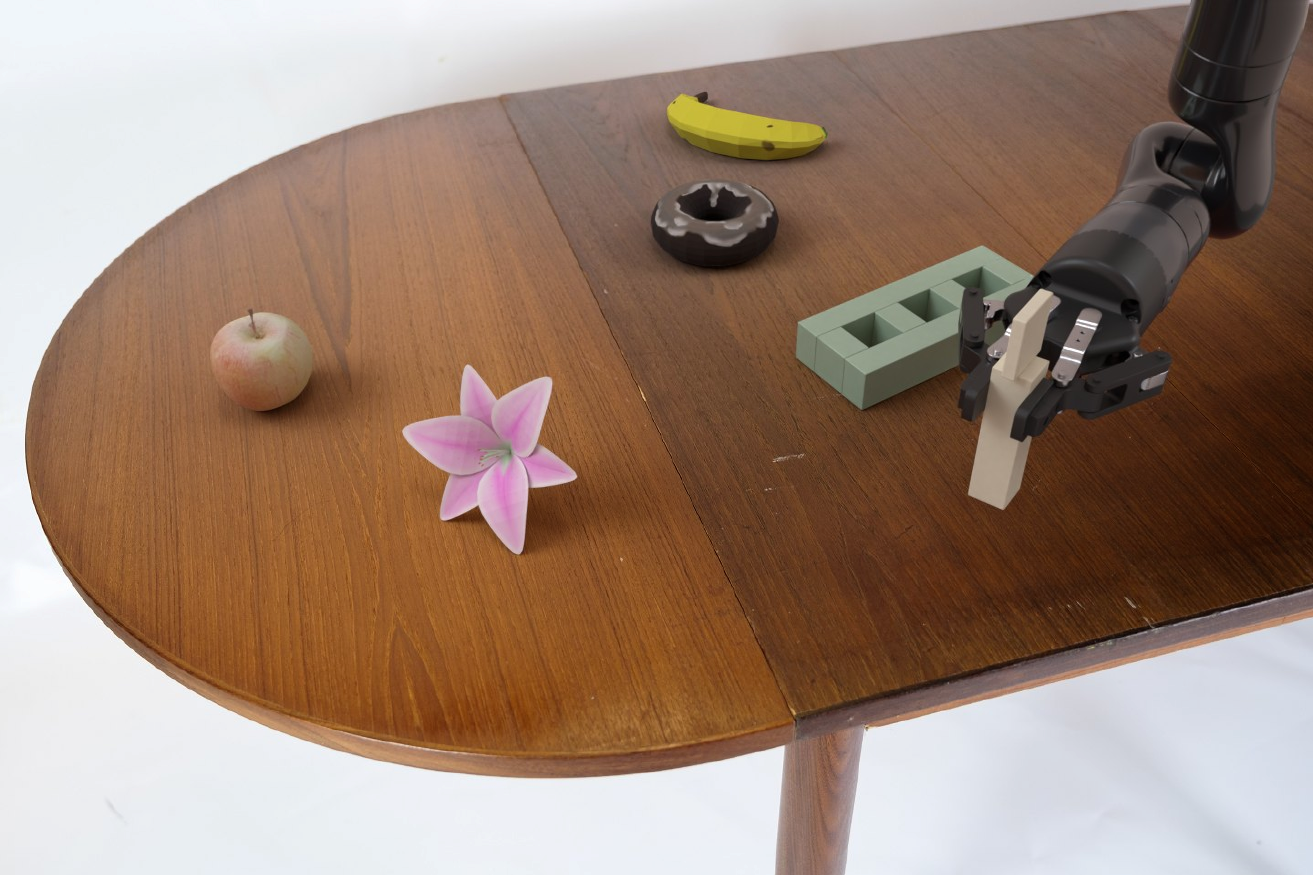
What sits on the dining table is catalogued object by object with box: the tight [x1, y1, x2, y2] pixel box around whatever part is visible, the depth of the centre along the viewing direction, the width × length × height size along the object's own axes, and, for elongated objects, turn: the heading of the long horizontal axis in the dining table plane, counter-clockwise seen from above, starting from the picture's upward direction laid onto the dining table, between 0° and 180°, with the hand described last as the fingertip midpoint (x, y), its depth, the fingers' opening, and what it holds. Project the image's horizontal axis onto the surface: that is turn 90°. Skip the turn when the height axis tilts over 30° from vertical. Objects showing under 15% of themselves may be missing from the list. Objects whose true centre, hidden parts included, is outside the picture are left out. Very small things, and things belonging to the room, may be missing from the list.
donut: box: [650, 178, 780, 267], centre depth 104 cm, size 12×12×4 cm
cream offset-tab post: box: [967, 289, 1053, 511], centre depth 66 cm, size 2×4×14 cm, turn 142°
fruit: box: [209, 308, 314, 412], centre depth 87 cm, size 8×7×8 cm
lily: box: [401, 364, 578, 555], centre depth 78 cm, size 12×12×10 cm
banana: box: [666, 91, 828, 161], centre depth 121 cm, size 5×17×15 cm
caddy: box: [795, 244, 1035, 411], centre depth 91 cm, size 8×20×4 cm, turn 122°
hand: (993, 417), depth 64 cm, fingers closed on cream offset-tab post, 2 cm apart
